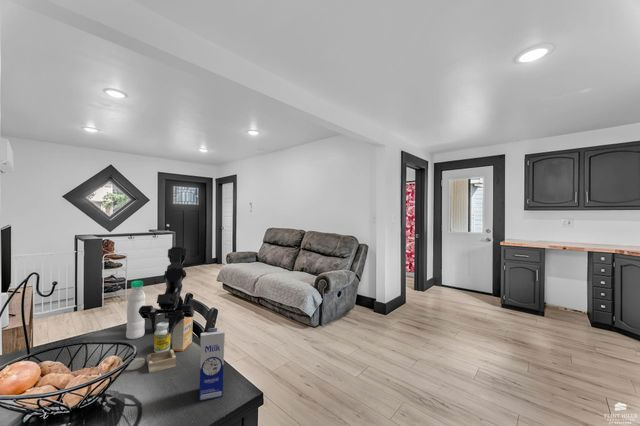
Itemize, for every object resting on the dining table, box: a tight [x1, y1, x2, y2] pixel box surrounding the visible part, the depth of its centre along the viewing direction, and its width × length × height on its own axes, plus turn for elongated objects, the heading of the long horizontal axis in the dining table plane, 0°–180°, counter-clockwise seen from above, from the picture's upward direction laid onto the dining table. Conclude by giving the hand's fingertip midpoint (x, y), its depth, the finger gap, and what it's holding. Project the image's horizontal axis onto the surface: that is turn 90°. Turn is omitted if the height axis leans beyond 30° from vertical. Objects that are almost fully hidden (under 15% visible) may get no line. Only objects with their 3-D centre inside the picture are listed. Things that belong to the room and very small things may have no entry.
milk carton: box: [198, 327, 226, 402], centre depth 91 cm, size 7×7×20 cm
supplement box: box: [171, 316, 194, 352], centre depth 121 cm, size 8×5×13 cm, turn 179°
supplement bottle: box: [153, 321, 172, 353], centre depth 106 cm, size 5×5×10 cm
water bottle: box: [125, 280, 147, 340], centre depth 129 cm, size 7×7×25 cm
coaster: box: [124, 357, 146, 371], centre depth 105 cm, size 7×7×1 cm
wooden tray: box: [146, 348, 177, 374], centre depth 106 cm, size 8×8×3 cm
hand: (161, 333), depth 105 cm, fingers closed on supplement bottle, 5 cm apart
